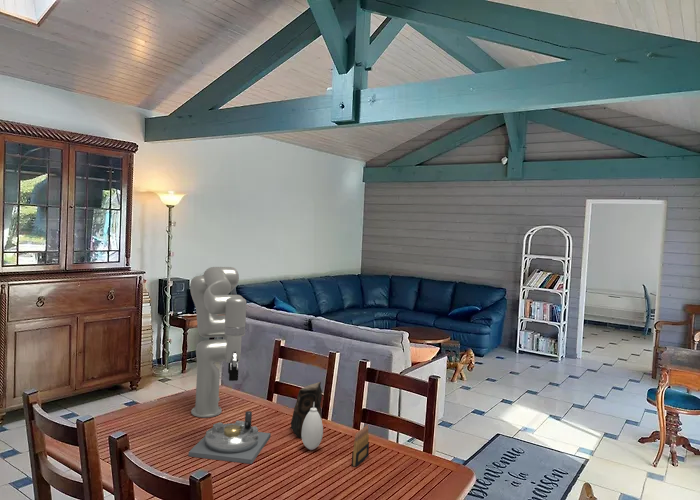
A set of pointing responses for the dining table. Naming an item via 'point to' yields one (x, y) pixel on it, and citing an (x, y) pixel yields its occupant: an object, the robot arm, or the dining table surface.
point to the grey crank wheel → (232, 436)
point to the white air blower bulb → (312, 429)
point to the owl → (306, 406)
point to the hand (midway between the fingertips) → (232, 376)
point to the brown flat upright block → (360, 447)
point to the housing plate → (242, 457)
